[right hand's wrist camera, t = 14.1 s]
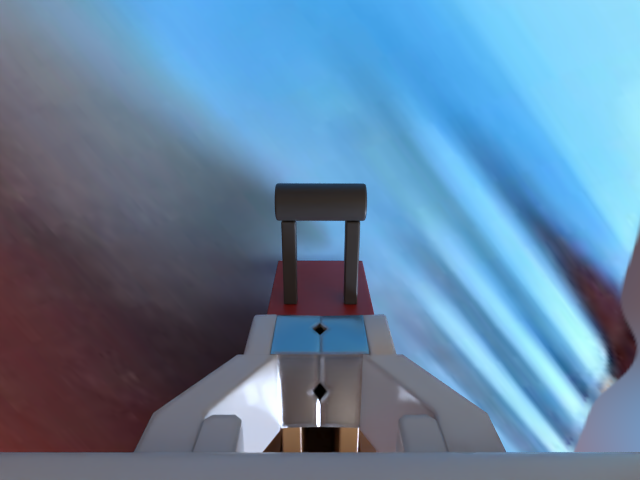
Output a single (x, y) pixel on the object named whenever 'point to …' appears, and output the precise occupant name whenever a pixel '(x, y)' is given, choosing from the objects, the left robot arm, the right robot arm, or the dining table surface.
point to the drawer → (320, 283)
